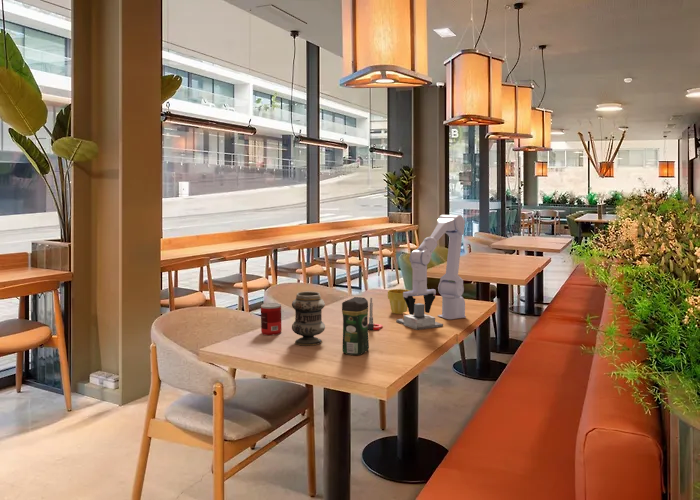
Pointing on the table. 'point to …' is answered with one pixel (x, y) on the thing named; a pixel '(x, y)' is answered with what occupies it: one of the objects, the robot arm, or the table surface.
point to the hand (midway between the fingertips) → (419, 313)
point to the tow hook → (370, 324)
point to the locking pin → (419, 310)
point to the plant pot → (397, 301)
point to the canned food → (271, 319)
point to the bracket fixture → (418, 321)
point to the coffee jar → (355, 326)
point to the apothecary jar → (308, 317)
